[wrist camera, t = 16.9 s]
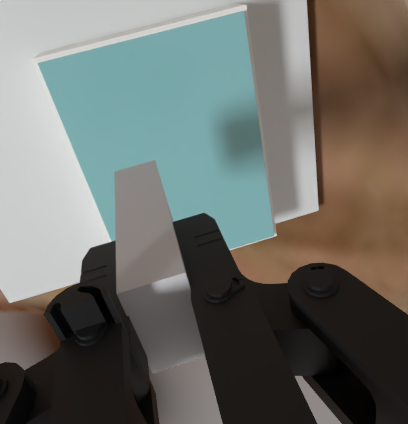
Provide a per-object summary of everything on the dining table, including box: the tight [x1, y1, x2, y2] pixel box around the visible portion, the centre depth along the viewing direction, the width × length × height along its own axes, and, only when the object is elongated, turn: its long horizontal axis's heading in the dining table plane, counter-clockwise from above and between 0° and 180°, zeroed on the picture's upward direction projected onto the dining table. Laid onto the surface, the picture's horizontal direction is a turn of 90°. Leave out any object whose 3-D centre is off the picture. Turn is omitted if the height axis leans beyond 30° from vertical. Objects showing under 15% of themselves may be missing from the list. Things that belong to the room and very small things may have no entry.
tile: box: [32, 4, 277, 250], centre depth 19 cm, size 12×2×9 cm
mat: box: [0, 0, 319, 303], centre depth 20 cm, size 15×20×1 cm
